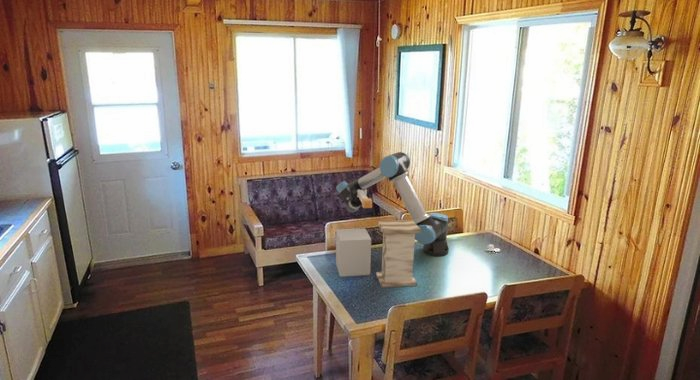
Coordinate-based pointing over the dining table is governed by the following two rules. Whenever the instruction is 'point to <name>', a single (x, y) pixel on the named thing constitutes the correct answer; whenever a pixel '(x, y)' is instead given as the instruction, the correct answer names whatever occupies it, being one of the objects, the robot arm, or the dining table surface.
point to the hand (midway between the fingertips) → (362, 191)
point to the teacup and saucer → (491, 248)
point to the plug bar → (365, 200)
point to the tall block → (353, 252)
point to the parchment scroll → (397, 253)
